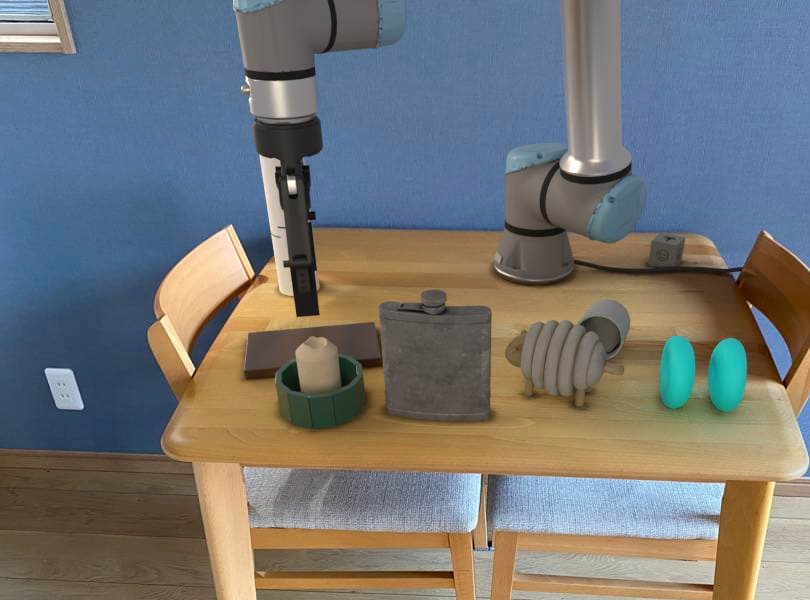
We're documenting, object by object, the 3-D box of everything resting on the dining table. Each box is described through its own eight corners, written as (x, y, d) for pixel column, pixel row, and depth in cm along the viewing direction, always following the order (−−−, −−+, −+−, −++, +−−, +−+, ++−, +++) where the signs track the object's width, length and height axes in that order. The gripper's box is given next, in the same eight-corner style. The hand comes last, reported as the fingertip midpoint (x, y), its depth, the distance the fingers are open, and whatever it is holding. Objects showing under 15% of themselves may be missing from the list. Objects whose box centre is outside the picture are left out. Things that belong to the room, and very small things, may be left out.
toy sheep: (513, 366, 114) (516, 299, 108) (625, 385, 110) (635, 316, 103) (493, 403, 105) (494, 332, 99) (614, 424, 101) (623, 352, 95)
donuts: (655, 383, 110) (665, 322, 105) (726, 387, 109) (739, 325, 104) (663, 422, 102) (673, 357, 96) (739, 426, 101) (754, 361, 95)
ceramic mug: (629, 341, 121) (634, 297, 117) (620, 365, 114) (625, 319, 110) (565, 331, 124) (567, 288, 120) (552, 354, 117) (554, 309, 113)
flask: (488, 424, 101) (490, 302, 91) (383, 417, 102) (373, 296, 92) (490, 409, 104) (492, 289, 94) (388, 403, 105) (380, 284, 96)
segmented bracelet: (362, 378, 111) (359, 349, 108) (368, 423, 101) (365, 391, 99) (281, 386, 109) (276, 356, 106) (280, 432, 99) (274, 400, 97)
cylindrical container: (310, 297, 134) (292, 154, 120) (273, 294, 135) (250, 151, 121) (325, 281, 140) (309, 143, 126) (289, 278, 141) (269, 140, 127)
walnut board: (374, 329, 124) (374, 321, 123) (381, 366, 114) (381, 357, 113) (249, 340, 120) (247, 332, 120) (245, 379, 111) (243, 370, 110)
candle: (310, 419, 102) (300, 354, 96) (298, 399, 106) (288, 336, 101) (348, 409, 104) (342, 345, 99) (335, 390, 108) (328, 327, 103)
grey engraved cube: (681, 261, 148) (685, 237, 145) (673, 270, 145) (677, 245, 142) (657, 256, 150) (660, 232, 148) (648, 265, 147) (651, 240, 144)
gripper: (255, 95, 94) (278, 256, 105) (244, 145, 73) (274, 339, 85) (317, 93, 95) (333, 253, 107) (323, 142, 74) (342, 334, 86)
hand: (307, 291), depth 96 cm, fingers open, 13 cm apart
